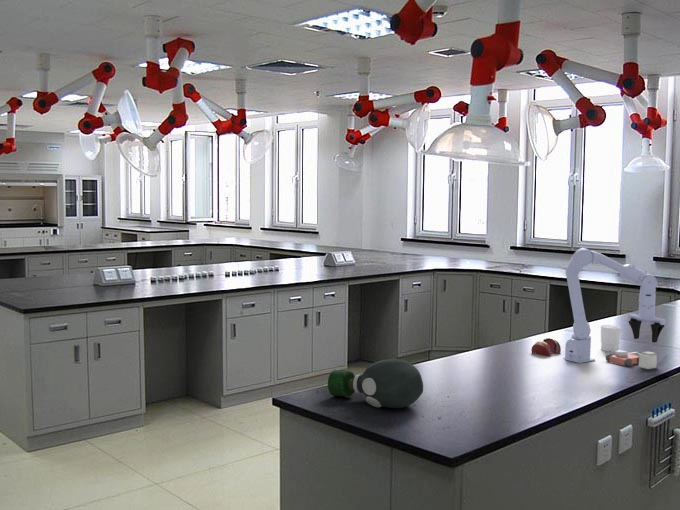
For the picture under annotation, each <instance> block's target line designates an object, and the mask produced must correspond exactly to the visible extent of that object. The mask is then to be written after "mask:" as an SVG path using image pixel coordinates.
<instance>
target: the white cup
mask: <svg viewBox="0 0 680 510" xmlns="http://www.w3.org/2000/svg"><path fill="white" fill-rule="evenodd" d="M621 328H622V327H621V326H619V325H614V324H613V325H612V324H603V325H600V343H601V344H600V347H601V350H602V351H604V352H609V351H611V352H612V353H613V351H614V353H616V352H615V351H617V350H620V349H619V348H620V342H621V341H620V339H621V330H622V329H621Z"/></svg>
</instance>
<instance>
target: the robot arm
mask: <svg viewBox="0 0 680 510" xmlns="http://www.w3.org/2000/svg"><path fill="white" fill-rule="evenodd" d="M591 263H592V264H593V265H597V264H601V265H602V266H604V267H607V268H609V269H612V271H613V270H614V271H616V272H618V273H619V275H620V277H621V278H622V279H625V280H626V281H629V282H630V283H633V284H635V285H639V286H640V287H639V288H640V289H639V294H638V295H639V296H638V298H639V299H638V313H637V314H635V313H629V314H628V315H627V320H628V325H629V326H630V328H631V330H632V334H633V338H634V340H638V339H640V334H641V333H640V330H641V325H642V322H645V323H650V328H651V343H658V339H659V336H660V334H661V332H662V330H664V327H665V325H666V321H667V320H666V319H664V318H660V317H657V316H655V315H656V296H657V294H656V291H657V287H658V284H659V282H658V280H657V278H656V276H654V275H653V274H651V273H649V272H648V271H647V270H643V269H640V268H638V267H636V265H635V264H633V263H631V264H629V263H626V264H622V263H620V262H618V261H616V260H614V259H612V258H610V257H608V256H607V255H604V254H602V253H600V252H597V251H595V250H590V249H589V248H586V247H580V248H578V249H577V250H576V251H575V252H574V253H573V254H572V256H571V258H570V260H569V262H568V264H567V266H566V268H565V276H566V281H567V286H568V292H569V299H570V305H571V309H572V317H573V324H572V329H573V330H572V331H573V333H572V334H571V337H570V338H569V339H568V340H566V342H565V349H564V350H565V352H564V357H563V359H562V360H565V361H569V362H570V361H571V362H573V363H577V364H581V363H588V362H594V361H596V359H595V358H592V357H591V347H592V346H591V345H592V344H591V343H592V336H590V334H591V326H590V323H589V322H588V321H587V319H586V311H585V307H584V301H583V295H582V294H583V293H582V288H581V283H580V278H579V277H580V276H579V274H580V272H581V271H582V270H583V269H584V268H586V267H587V266H589V265H590V264H591Z"/></svg>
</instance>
